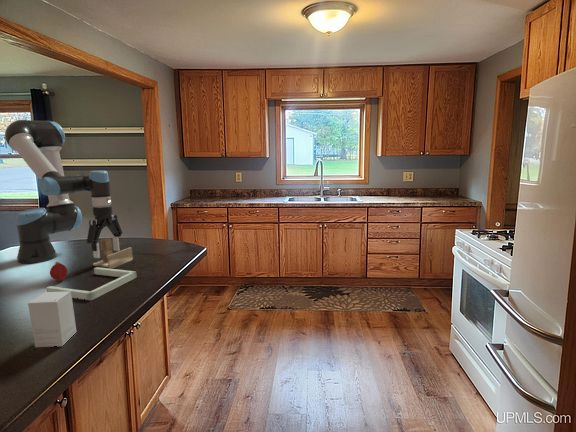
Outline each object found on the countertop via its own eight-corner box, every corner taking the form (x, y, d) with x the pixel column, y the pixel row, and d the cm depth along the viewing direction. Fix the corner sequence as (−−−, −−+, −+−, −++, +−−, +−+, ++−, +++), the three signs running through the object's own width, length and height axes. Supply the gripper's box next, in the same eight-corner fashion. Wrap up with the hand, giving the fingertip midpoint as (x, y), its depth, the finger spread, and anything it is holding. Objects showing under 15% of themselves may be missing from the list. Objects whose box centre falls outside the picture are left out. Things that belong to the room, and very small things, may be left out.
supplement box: (77, 332, 102) (72, 290, 100) (62, 347, 95) (56, 302, 92) (50, 333, 102) (45, 291, 99) (33, 347, 95) (26, 302, 92)
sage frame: (47, 294, 129) (46, 287, 129) (97, 273, 151) (96, 267, 150) (91, 300, 124) (90, 293, 123) (136, 277, 145) (136, 271, 145)
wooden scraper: (89, 267, 159) (86, 242, 157) (113, 257, 172) (110, 235, 170) (110, 269, 156) (108, 244, 153) (133, 259, 169) (130, 236, 167)
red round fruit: (56, 278, 145) (53, 259, 143) (71, 278, 145) (69, 259, 144) (48, 284, 139) (45, 264, 137) (63, 283, 139) (61, 263, 138)
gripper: (87, 210, 147) (93, 262, 151) (128, 202, 169) (132, 247, 173) (72, 210, 149) (79, 261, 153) (114, 201, 171) (119, 246, 176)
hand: (107, 254), depth 163 cm, fingers open, 11 cm apart
